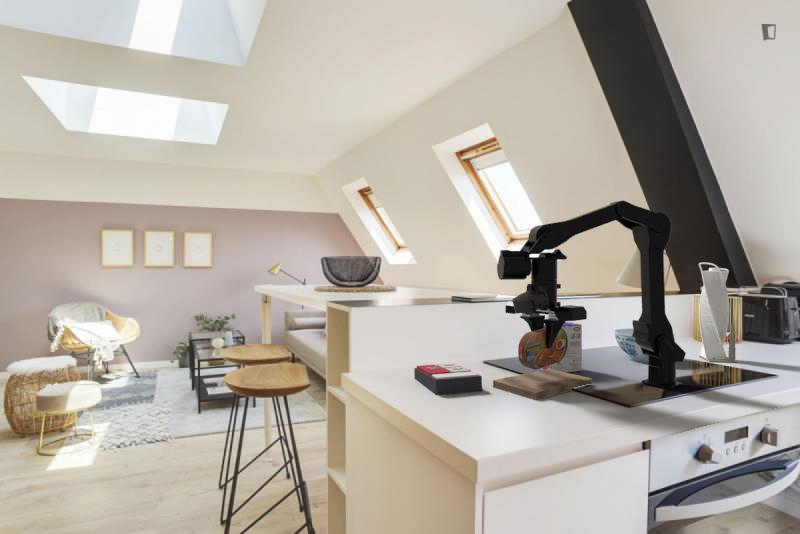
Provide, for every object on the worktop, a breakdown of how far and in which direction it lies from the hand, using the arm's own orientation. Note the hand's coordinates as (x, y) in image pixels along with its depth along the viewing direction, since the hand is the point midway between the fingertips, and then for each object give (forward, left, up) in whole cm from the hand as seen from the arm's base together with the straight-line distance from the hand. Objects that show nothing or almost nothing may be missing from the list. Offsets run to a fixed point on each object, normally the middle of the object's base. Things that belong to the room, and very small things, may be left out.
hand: (543, 347), depth 112 cm
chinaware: (-47, -2, -9) cm, 48 cm away
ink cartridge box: (-16, -7, -9) cm, 20 cm away
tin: (0, -1, -4) cm, 4 cm away
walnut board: (0, 0, -9) cm, 9 cm away
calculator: (+17, -14, -10) cm, 24 cm away
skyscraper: (-64, +10, -9) cm, 65 cm away
